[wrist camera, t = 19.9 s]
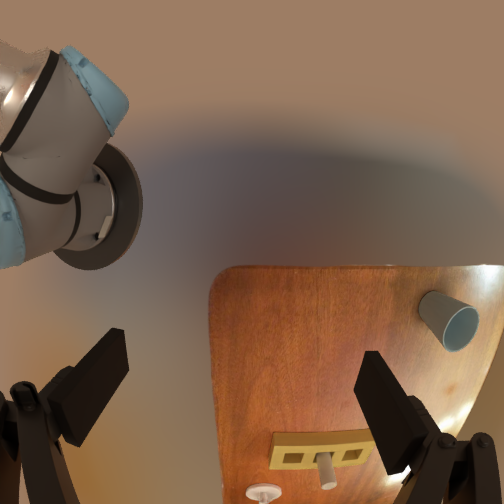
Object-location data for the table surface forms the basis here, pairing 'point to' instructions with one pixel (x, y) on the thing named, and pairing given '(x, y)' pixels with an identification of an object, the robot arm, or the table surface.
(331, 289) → the table surface
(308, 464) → the block
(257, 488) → the figurine
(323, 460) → the peg
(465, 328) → the cup
